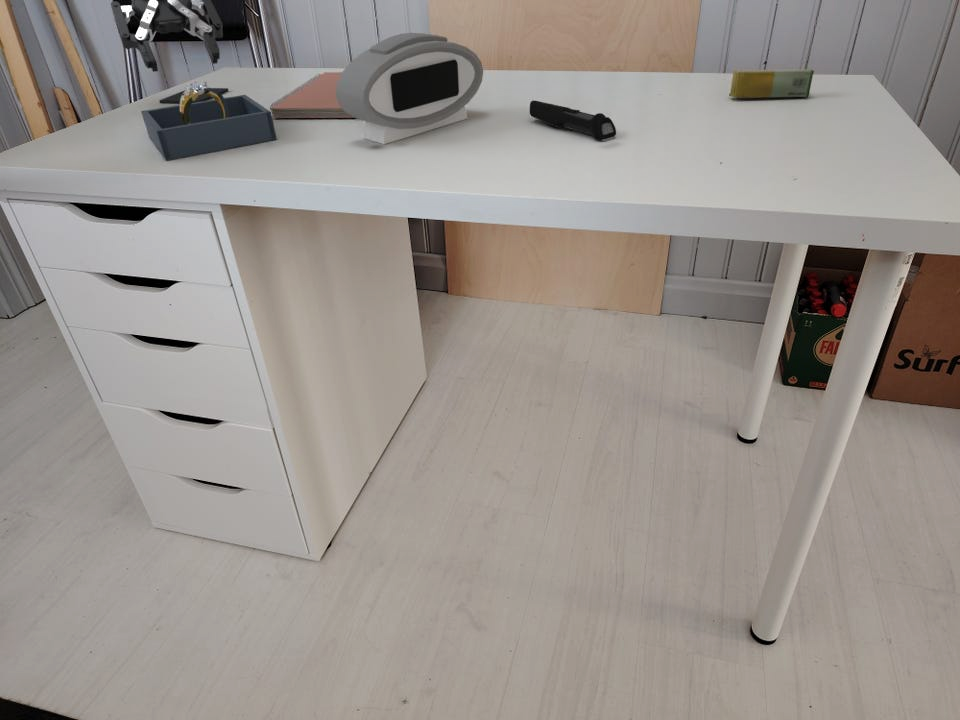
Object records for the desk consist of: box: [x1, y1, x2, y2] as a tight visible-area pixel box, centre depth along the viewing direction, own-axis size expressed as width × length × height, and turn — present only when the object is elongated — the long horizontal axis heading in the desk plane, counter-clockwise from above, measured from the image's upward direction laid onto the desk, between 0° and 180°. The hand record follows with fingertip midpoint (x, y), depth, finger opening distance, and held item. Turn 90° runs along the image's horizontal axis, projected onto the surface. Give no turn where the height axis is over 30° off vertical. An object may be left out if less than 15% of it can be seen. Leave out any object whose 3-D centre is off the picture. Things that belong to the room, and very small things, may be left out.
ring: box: [179, 81, 229, 125], centre depth 95 cm, size 7×3×8 cm, turn 132°
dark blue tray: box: [140, 94, 277, 162], centre depth 96 cm, size 16×14×4 cm
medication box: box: [728, 68, 815, 99], centre depth 103 cm, size 12×3×4 cm, turn 89°
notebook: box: [269, 71, 356, 119], centre depth 114 cm, size 27×17×2 cm, turn 173°
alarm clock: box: [336, 32, 484, 145], centre depth 94 cm, size 23×6×13 cm, turn 136°
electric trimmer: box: [529, 100, 617, 142], centre depth 93 cm, size 4×16×3 cm, turn 39°
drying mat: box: [158, 87, 229, 105], centre depth 120 cm, size 10×8×1 cm
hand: (185, 64), depth 95 cm, fingers open, 8 cm apart
